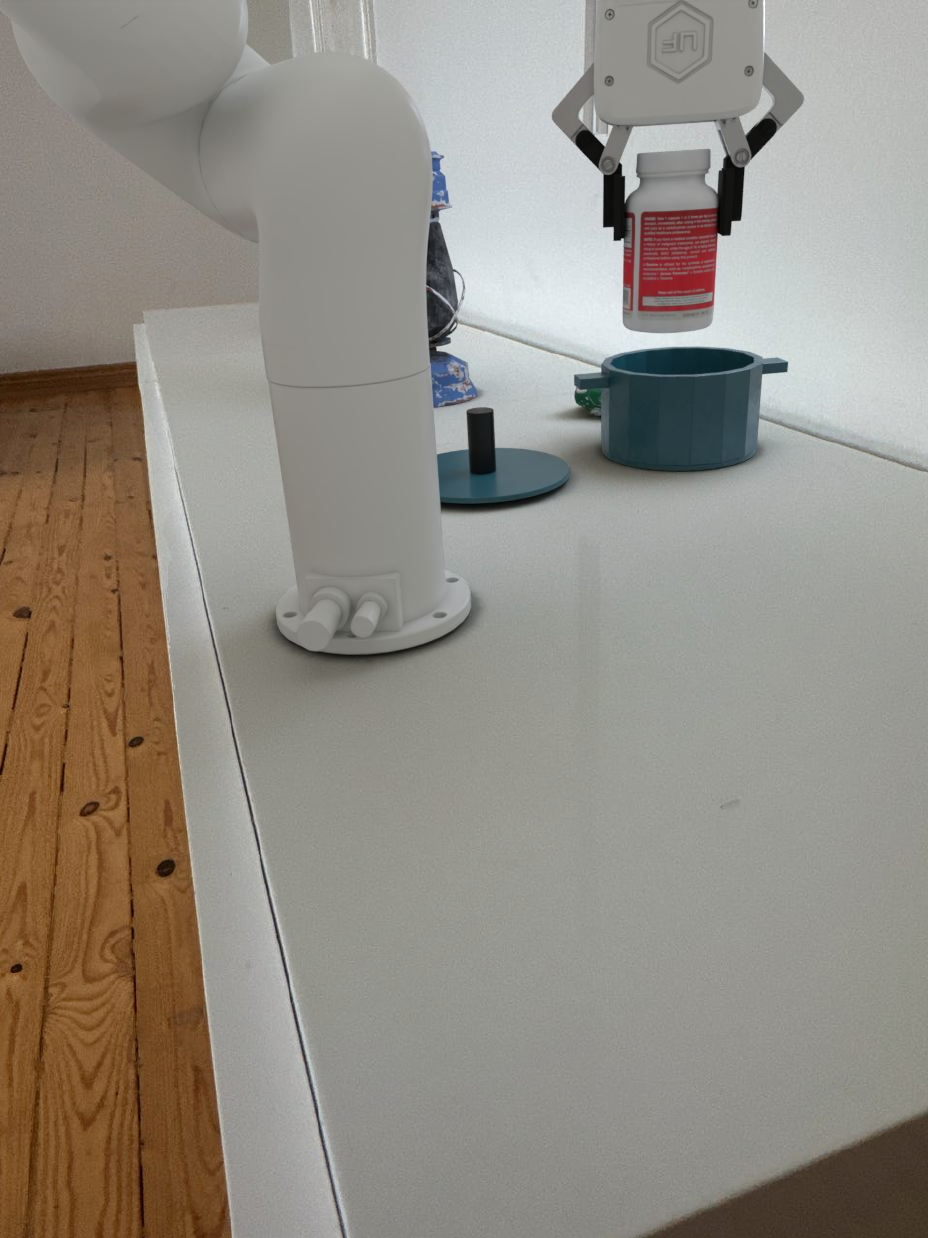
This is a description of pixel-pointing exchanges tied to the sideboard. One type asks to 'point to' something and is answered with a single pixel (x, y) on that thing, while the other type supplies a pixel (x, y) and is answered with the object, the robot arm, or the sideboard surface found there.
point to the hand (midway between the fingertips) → (670, 234)
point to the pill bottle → (670, 244)
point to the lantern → (443, 305)
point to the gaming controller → (589, 399)
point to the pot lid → (495, 467)
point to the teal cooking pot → (680, 406)
